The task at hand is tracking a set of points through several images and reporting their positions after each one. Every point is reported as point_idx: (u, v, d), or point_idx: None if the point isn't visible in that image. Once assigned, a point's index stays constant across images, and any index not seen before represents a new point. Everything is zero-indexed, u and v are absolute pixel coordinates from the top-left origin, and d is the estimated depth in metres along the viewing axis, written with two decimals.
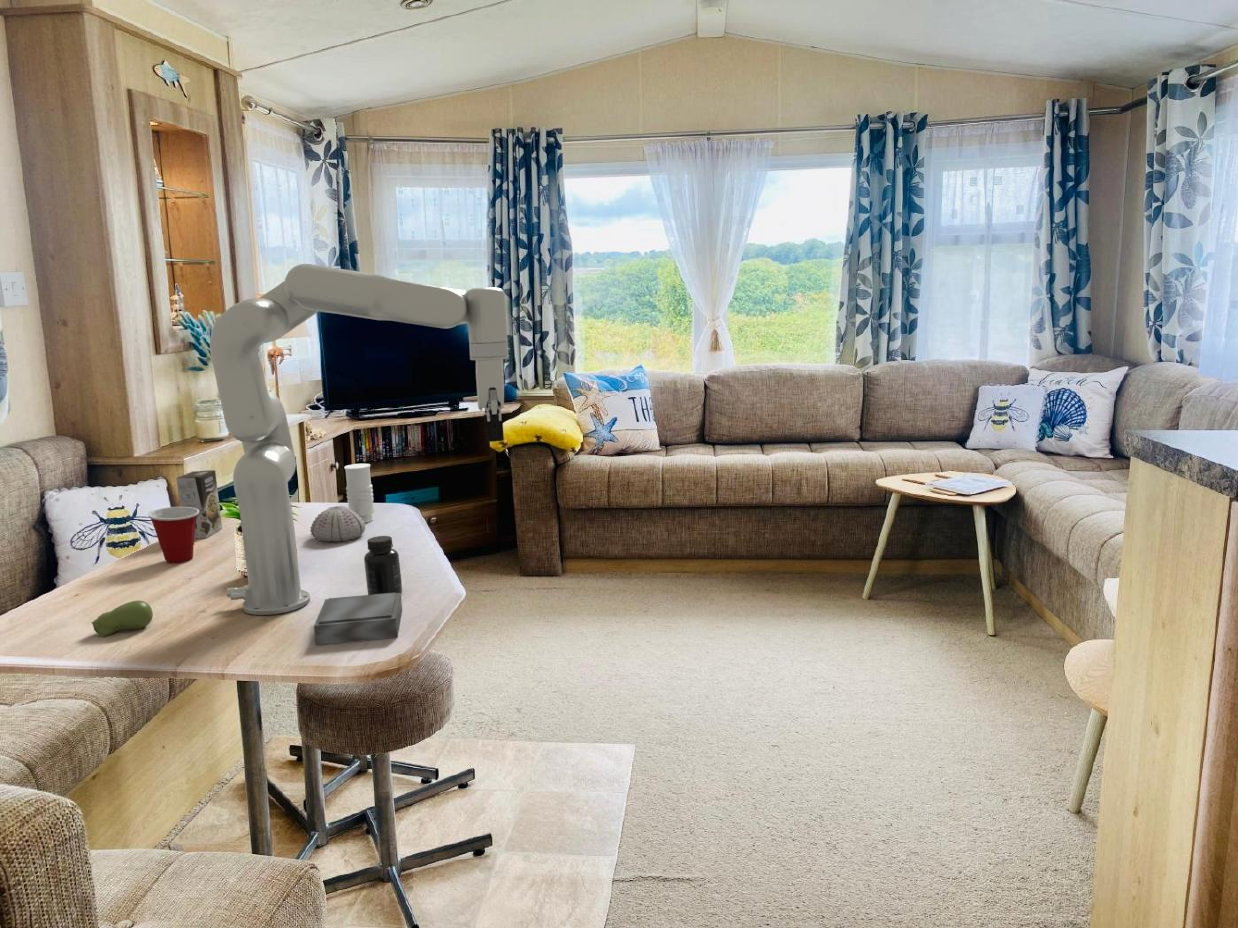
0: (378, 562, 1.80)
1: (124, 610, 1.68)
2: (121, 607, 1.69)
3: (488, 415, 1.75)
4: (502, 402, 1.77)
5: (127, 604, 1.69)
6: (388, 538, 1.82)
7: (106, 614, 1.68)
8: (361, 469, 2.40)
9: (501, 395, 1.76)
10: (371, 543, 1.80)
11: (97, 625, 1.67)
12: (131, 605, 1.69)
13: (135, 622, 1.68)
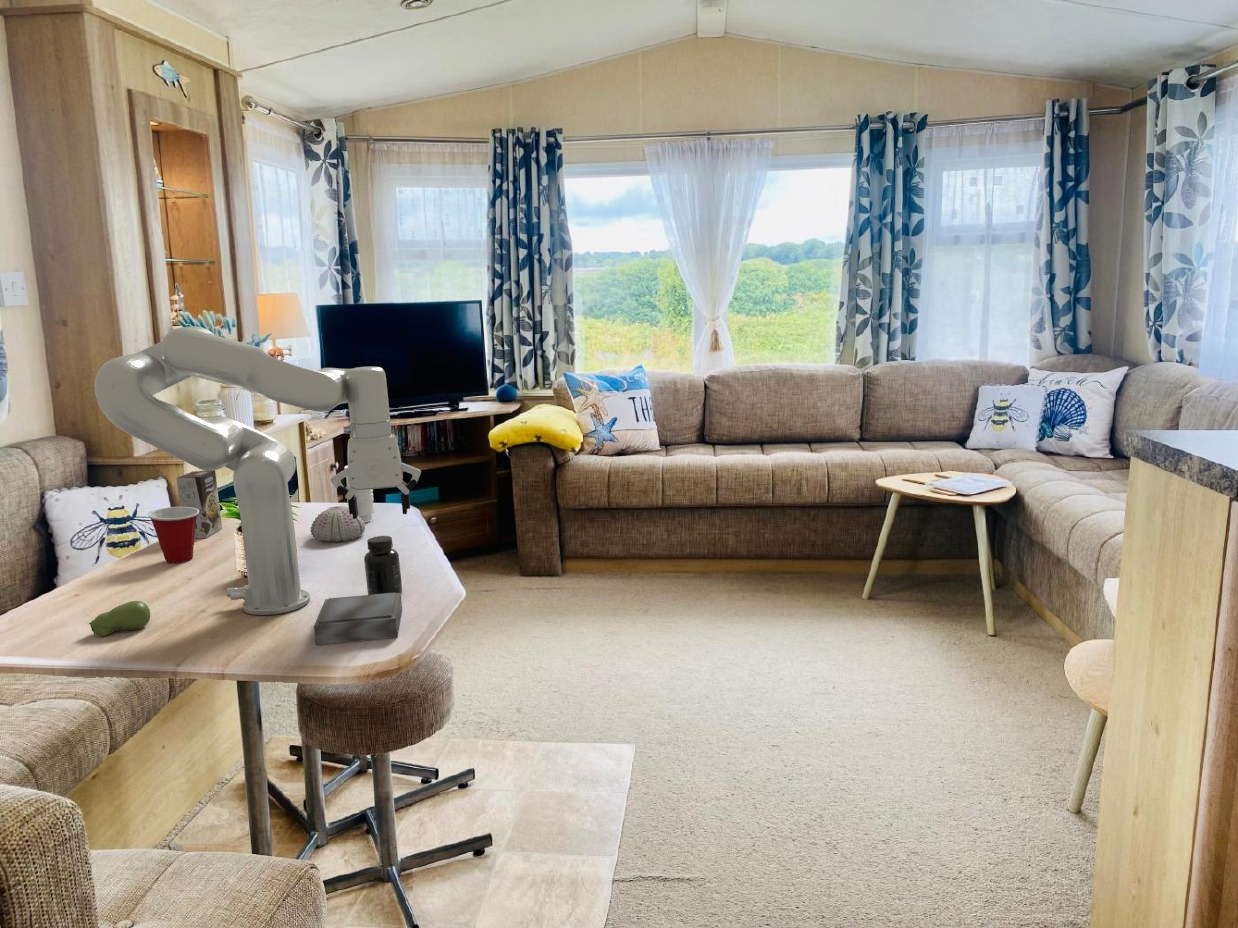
0: (378, 562, 1.80)
1: (121, 610, 1.68)
2: (119, 607, 1.69)
3: (407, 488, 1.80)
4: None
5: (125, 604, 1.69)
6: (388, 538, 1.82)
7: (104, 614, 1.68)
8: None
9: None
10: (371, 543, 1.80)
11: (95, 626, 1.67)
12: (129, 605, 1.69)
13: (132, 622, 1.68)
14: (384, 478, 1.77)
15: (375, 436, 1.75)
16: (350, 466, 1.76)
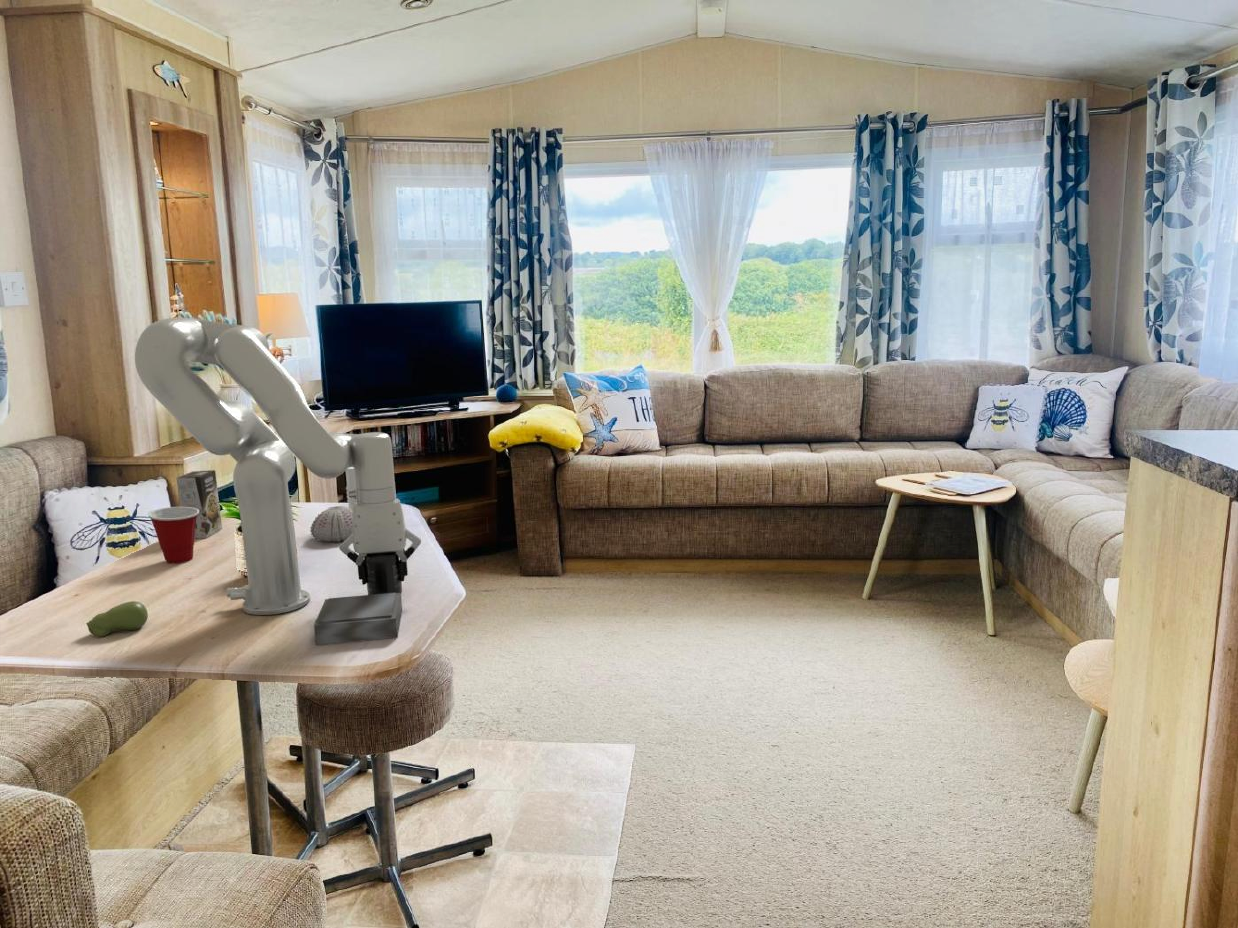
0: (378, 562, 1.80)
1: (119, 611, 1.68)
2: (116, 608, 1.68)
3: (405, 555, 1.83)
4: None
5: (122, 605, 1.69)
6: None
7: (101, 615, 1.68)
8: None
9: None
10: None
11: (92, 626, 1.67)
12: (126, 606, 1.69)
13: (129, 623, 1.68)
14: (388, 542, 1.80)
15: (380, 502, 1.77)
16: (355, 530, 1.79)
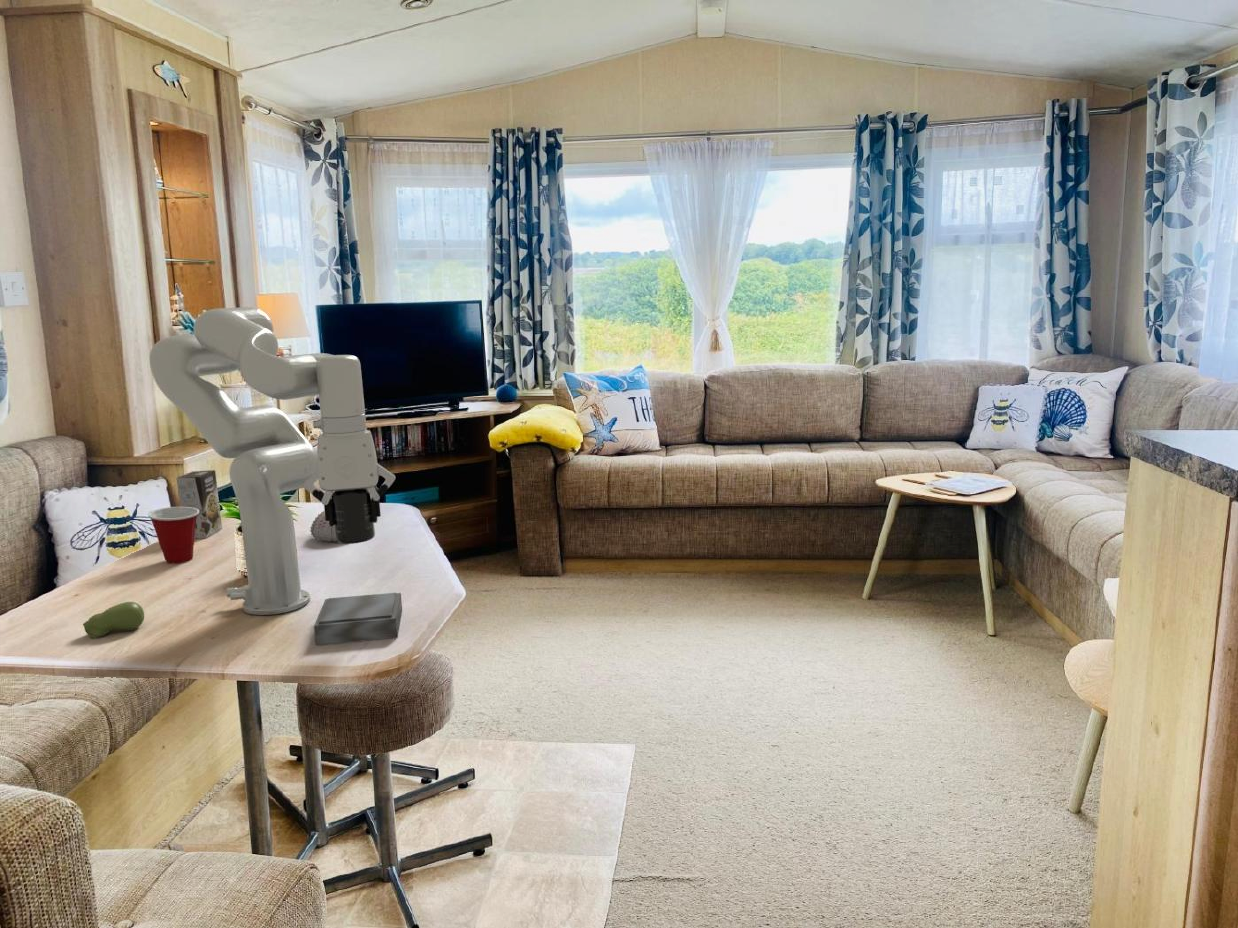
0: (347, 500, 1.60)
1: (115, 611, 1.67)
2: (112, 608, 1.68)
3: (378, 493, 1.63)
4: None
5: (118, 605, 1.69)
6: None
7: (97, 615, 1.67)
8: None
9: None
10: None
11: (88, 626, 1.66)
12: (123, 606, 1.68)
13: (126, 623, 1.68)
14: (358, 478, 1.61)
15: (348, 431, 1.58)
16: (320, 464, 1.59)
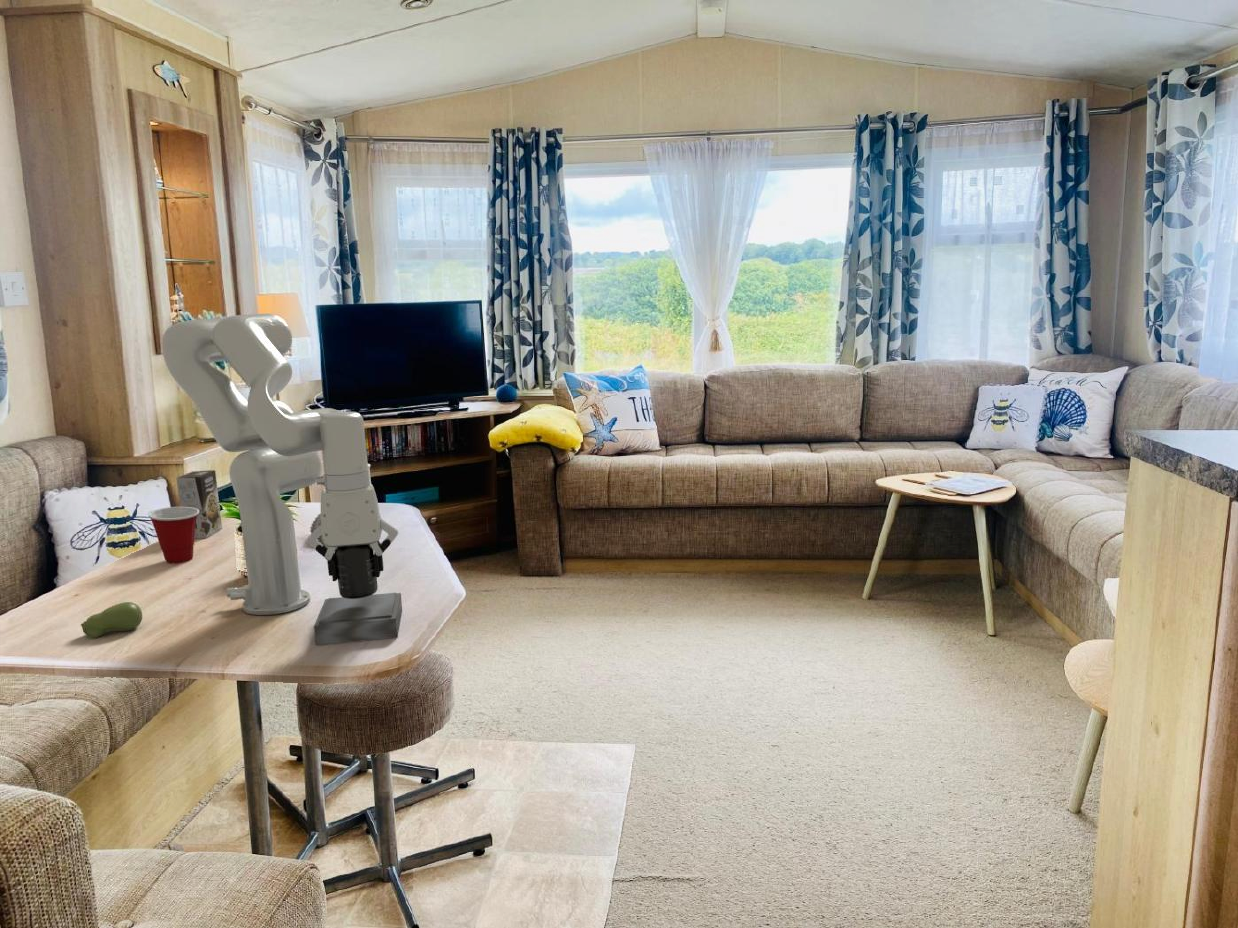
0: (350, 556, 1.61)
1: (113, 612, 1.67)
2: (110, 609, 1.68)
3: (381, 549, 1.64)
4: None
5: (116, 606, 1.69)
6: None
7: (95, 616, 1.67)
8: None
9: None
10: None
11: (86, 627, 1.66)
12: (121, 606, 1.68)
13: (124, 624, 1.68)
14: (360, 534, 1.62)
15: (351, 489, 1.59)
16: (323, 521, 1.60)
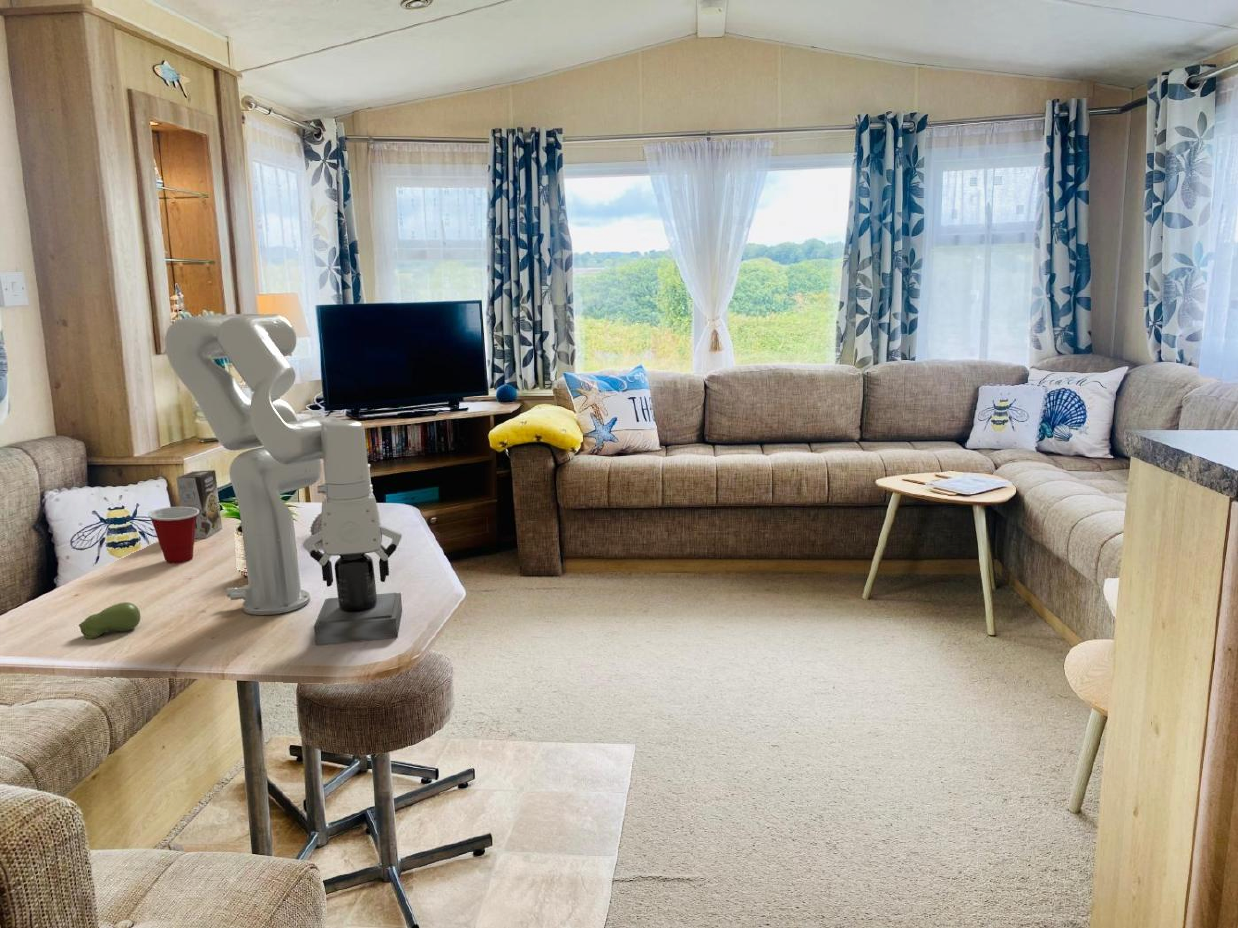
0: (350, 569, 1.62)
1: (111, 612, 1.67)
2: (108, 609, 1.68)
3: (386, 553, 1.65)
4: None
5: (114, 606, 1.69)
6: None
7: (93, 616, 1.67)
8: None
9: None
10: None
11: (84, 627, 1.66)
12: (119, 607, 1.68)
13: (122, 624, 1.68)
14: (361, 543, 1.62)
15: (352, 498, 1.59)
16: (324, 530, 1.61)
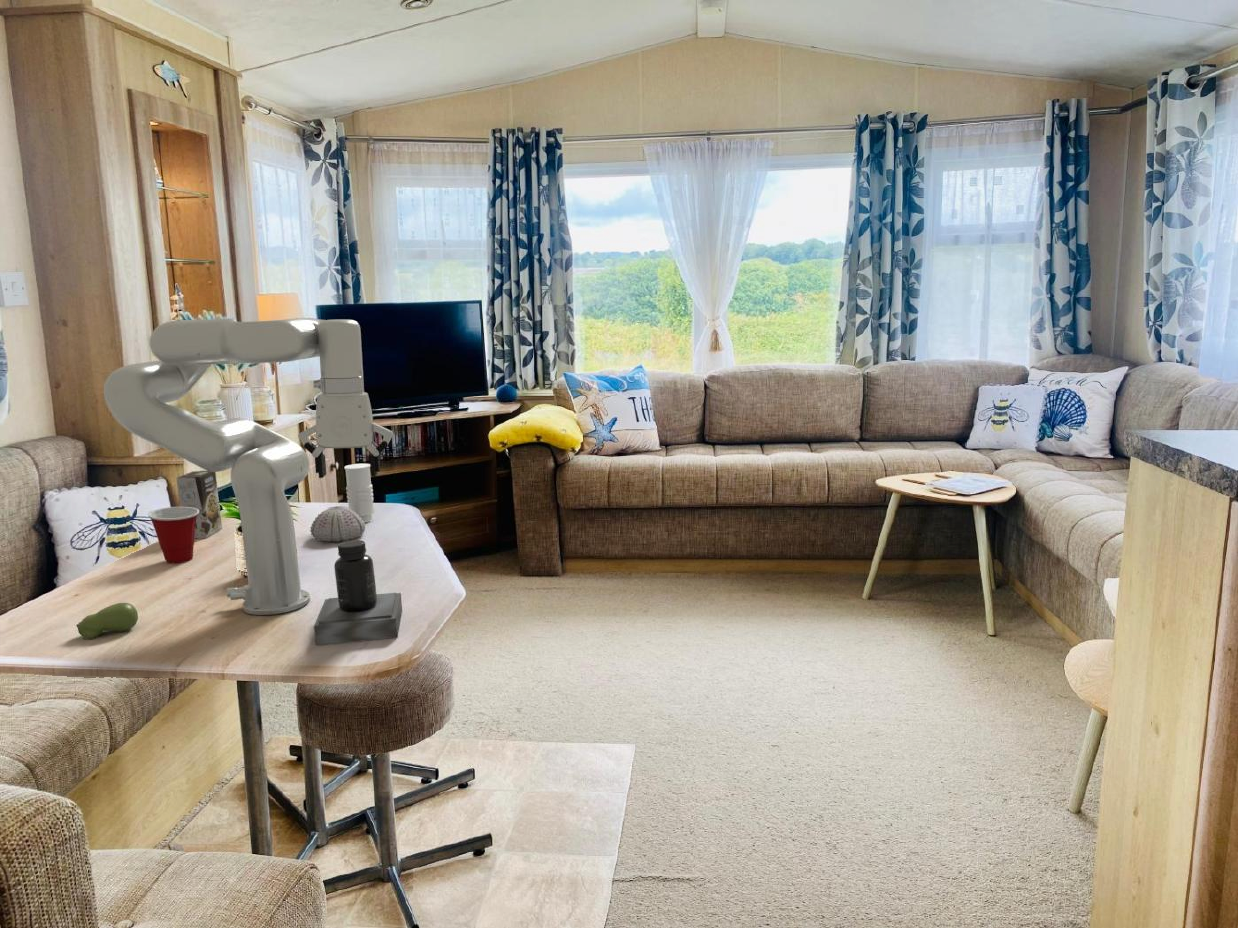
0: (349, 569, 1.62)
1: (108, 612, 1.67)
2: (106, 609, 1.68)
3: (377, 449, 1.72)
4: None
5: (112, 606, 1.68)
6: (361, 543, 1.65)
7: (91, 616, 1.67)
8: (361, 469, 2.40)
9: None
10: (342, 548, 1.63)
11: (82, 627, 1.66)
12: (116, 607, 1.68)
13: (120, 624, 1.67)
14: (352, 437, 1.69)
15: (344, 392, 1.66)
16: (318, 422, 1.68)
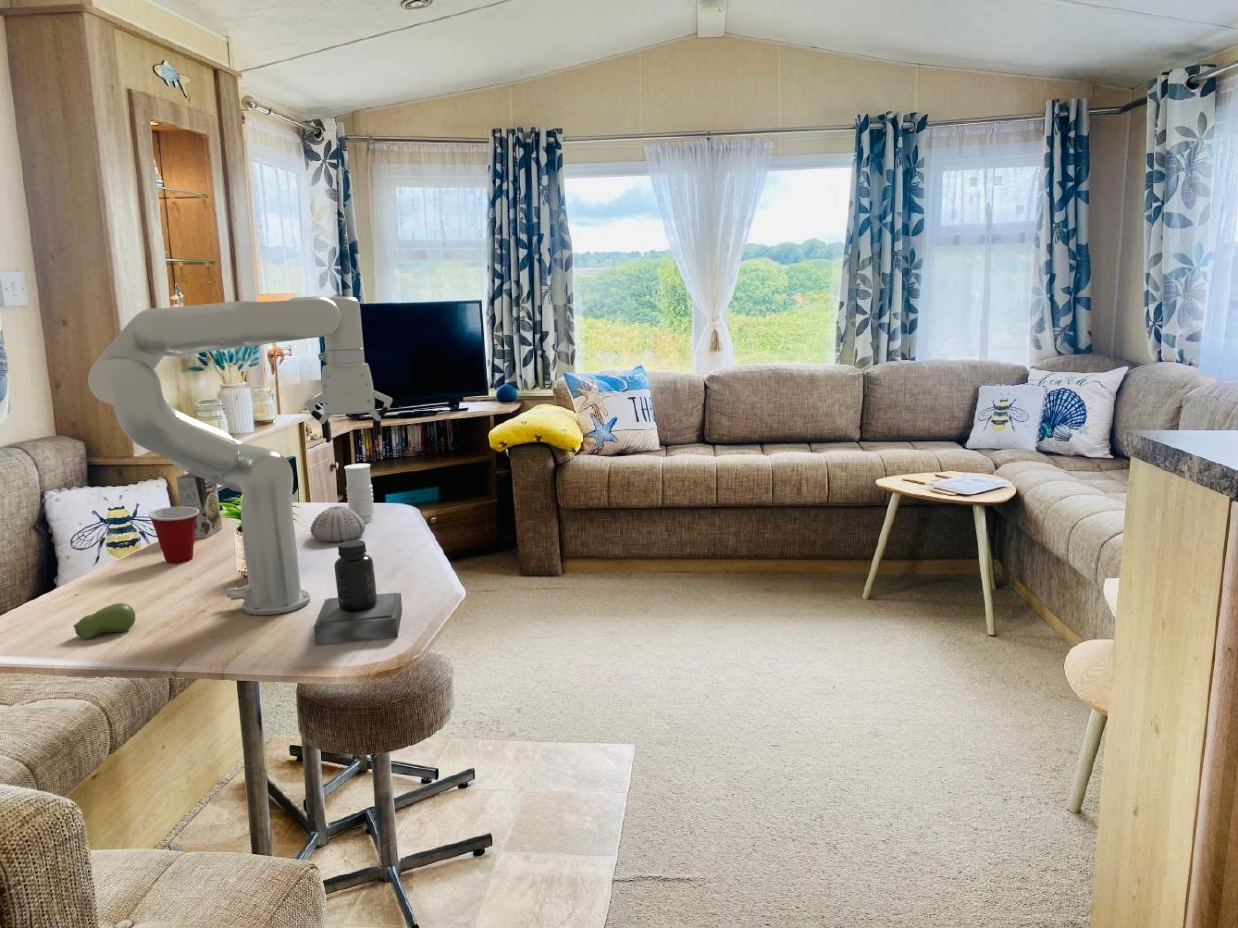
0: (349, 569, 1.62)
1: (106, 613, 1.67)
2: (103, 610, 1.68)
3: (378, 414, 1.88)
4: None
5: (109, 607, 1.68)
6: (361, 543, 1.65)
7: (88, 617, 1.67)
8: (361, 469, 2.40)
9: None
10: (342, 548, 1.63)
11: (79, 628, 1.66)
12: (113, 607, 1.68)
13: (117, 625, 1.67)
14: (356, 404, 1.85)
15: (348, 362, 1.83)
16: (324, 391, 1.84)
